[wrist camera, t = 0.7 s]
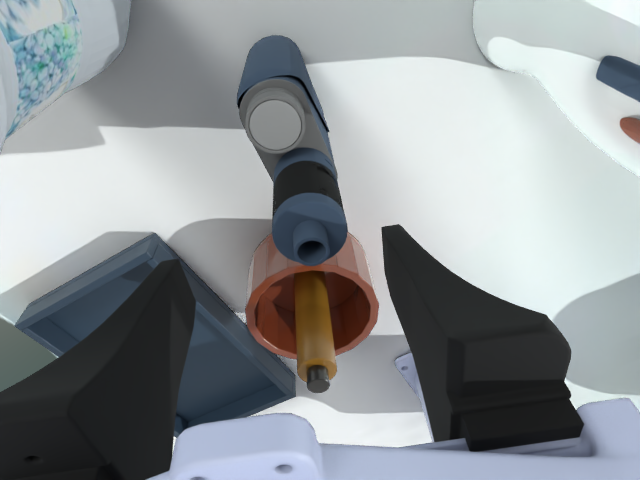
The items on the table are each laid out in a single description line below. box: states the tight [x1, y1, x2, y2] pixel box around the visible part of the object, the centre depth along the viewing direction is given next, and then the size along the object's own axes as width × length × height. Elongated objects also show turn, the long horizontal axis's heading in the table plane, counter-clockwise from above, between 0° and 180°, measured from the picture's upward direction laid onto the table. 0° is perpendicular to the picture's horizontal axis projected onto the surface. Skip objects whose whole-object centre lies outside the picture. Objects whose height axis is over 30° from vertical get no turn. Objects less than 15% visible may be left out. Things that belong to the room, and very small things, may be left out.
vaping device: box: [237, 35, 348, 266], centre depth 17 cm, size 3×5×12 cm, turn 22°
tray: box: [15, 233, 296, 438], centre depth 31 cm, size 16×10×2 cm, turn 30°
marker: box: [294, 270, 337, 393], centre depth 25 cm, size 2×2×8 cm
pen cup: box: [245, 233, 379, 359], centre depth 27 cm, size 8×8×4 cm
